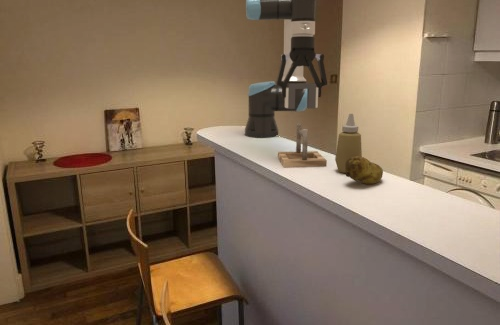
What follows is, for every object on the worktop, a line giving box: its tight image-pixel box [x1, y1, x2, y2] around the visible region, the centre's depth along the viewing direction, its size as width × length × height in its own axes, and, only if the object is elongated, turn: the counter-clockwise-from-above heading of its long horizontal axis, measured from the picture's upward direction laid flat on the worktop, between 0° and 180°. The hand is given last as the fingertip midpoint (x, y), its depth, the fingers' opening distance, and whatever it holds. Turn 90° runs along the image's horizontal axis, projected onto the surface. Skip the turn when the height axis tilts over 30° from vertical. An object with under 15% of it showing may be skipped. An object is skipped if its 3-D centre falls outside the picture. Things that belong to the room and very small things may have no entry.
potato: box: [345, 156, 384, 185], centre depth 116 cm, size 8×13×8 cm, turn 105°
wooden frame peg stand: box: [277, 123, 328, 169], centre depth 139 cm, size 13×14×12 cm
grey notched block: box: [287, 82, 317, 110], centre depth 135 cm, size 9×3×8 cm, turn 94°
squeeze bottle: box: [334, 113, 363, 174], centre depth 126 cm, size 8×8×18 cm
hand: (301, 107), depth 136 cm, fingers closed on grey notched block, 9 cm apart
